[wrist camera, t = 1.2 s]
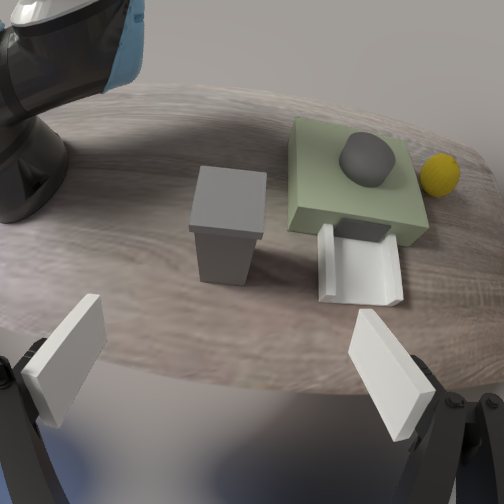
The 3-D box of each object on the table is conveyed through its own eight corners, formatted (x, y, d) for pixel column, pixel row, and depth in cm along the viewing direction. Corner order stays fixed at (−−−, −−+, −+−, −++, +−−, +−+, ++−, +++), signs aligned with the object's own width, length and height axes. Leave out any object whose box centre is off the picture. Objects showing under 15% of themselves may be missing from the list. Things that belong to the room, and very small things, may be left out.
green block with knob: (416, 307, 33) (458, 284, 25) (285, 299, 32) (306, 270, 24) (390, 163, 42) (414, 127, 35) (288, 143, 41) (300, 98, 34)
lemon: (430, 177, 42) (456, 144, 35) (445, 206, 40) (474, 175, 33) (405, 176, 41) (431, 141, 34) (420, 207, 39) (450, 174, 32)
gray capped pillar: (246, 289, 32) (263, 232, 21) (197, 284, 31) (188, 224, 20) (250, 244, 34) (266, 172, 23) (204, 238, 33) (200, 165, 23)
